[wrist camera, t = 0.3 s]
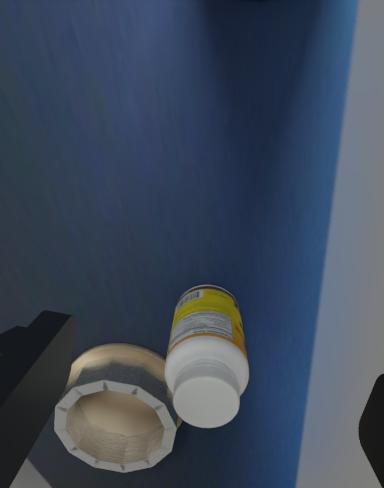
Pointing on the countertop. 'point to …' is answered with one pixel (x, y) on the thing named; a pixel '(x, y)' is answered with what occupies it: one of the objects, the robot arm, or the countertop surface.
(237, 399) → the supplement bottle
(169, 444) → the white beige low ring
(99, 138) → the countertop surface
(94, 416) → the beige round plate
